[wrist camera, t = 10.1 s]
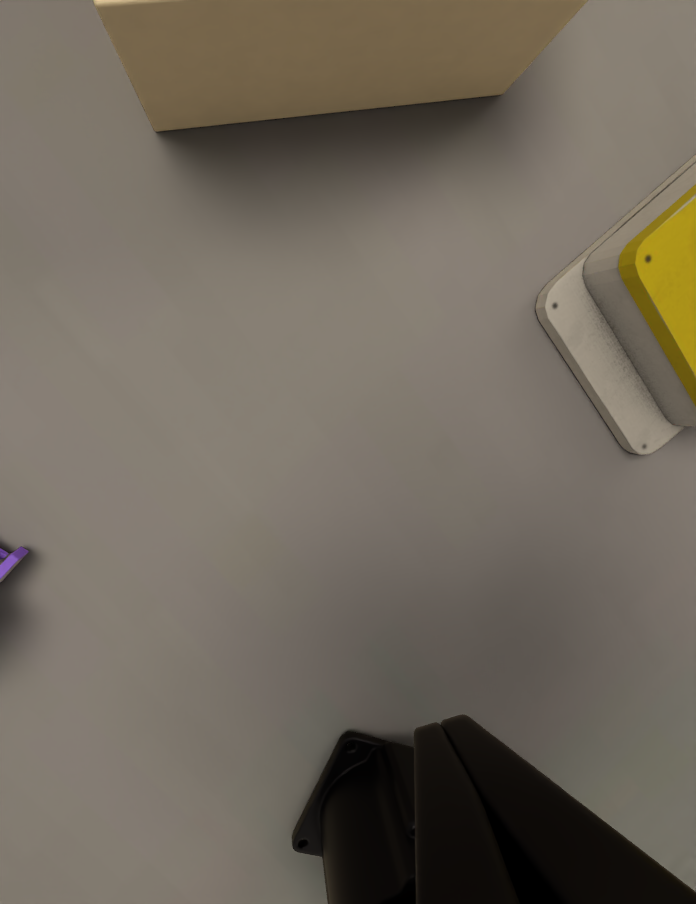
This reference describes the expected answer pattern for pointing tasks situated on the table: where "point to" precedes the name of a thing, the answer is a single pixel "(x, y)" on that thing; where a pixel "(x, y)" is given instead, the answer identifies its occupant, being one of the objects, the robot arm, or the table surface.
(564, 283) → the emergency button
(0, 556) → the toy race car
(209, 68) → the button base
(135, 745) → the table surface
